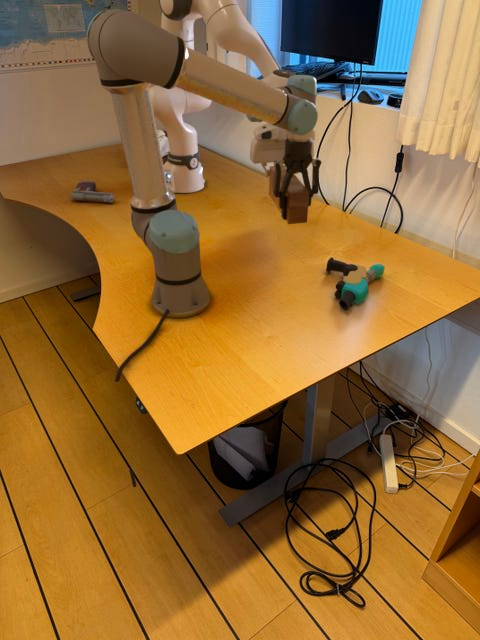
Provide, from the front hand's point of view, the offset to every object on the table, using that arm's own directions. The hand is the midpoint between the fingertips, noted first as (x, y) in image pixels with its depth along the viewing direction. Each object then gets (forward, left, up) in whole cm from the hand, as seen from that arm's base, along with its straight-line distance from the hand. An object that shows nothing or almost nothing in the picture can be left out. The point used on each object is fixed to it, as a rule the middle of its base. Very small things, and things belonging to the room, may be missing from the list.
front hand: (294, 216), depth 144 cm
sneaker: (+86, +64, -10) cm, 108 cm away
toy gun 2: (-24, -14, -10) cm, 30 cm away
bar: (+8, +2, 0) cm, 9 cm away
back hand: (+16, +4, +7) cm, 18 cm away
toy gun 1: (+38, +76, -10) cm, 85 cm away
